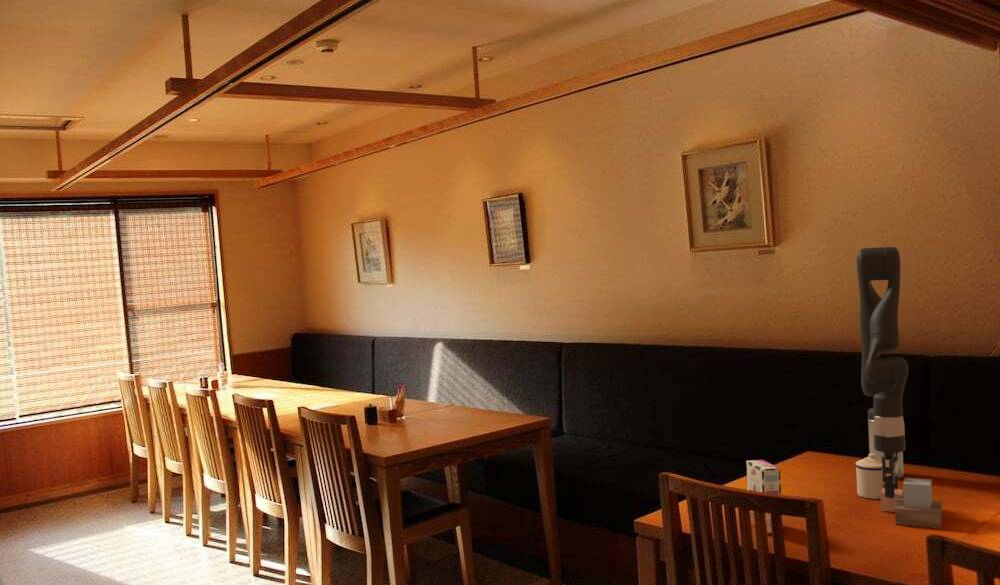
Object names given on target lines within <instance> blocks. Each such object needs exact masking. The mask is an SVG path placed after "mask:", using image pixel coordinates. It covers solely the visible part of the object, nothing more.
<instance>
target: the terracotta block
mask: <svg viewBox="0 0 1000 585" xmlns="http://www.w3.org/2000/svg"><path fill="white" fill-rule="evenodd" d="M894 492H895V496H894V498H887V497H885V488H882V490H881V493H880V496H881V499H880V511H881V512H882V511H890V512H889V513H894V512H895V507H896V504H897V502H898V499H899V498H903V499H904V493H903V489H900V488H898V489H894Z"/></svg>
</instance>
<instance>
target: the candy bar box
mask: <svg viewBox="0 0 1000 585" xmlns="http://www.w3.org/2000/svg"><path fill="white" fill-rule="evenodd" d="M745 462H746V464H745V465H746V486H747V487H746V488H747V491H748V490H752V491H757V492H762V493H768V494H774V495H781V496H782V486H781V484H782V483H781V468H779V467H777V466H776V465H774V464H773V463H770V462H769V461H766V460H764V459H752V460H746V461H745ZM751 519H752V521H753V513H752V512H751ZM766 522H767V529H768V534H767V535H772V534H771V516H770V514H766ZM769 531H770V534H769Z"/></svg>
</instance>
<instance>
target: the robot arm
mask: <svg viewBox="0 0 1000 585" xmlns="http://www.w3.org/2000/svg"><path fill="white" fill-rule="evenodd" d="M856 271H857V272H856V274H857V280H858V283H857V284H858V290H859V291H858V292H859V326H860V327H859V328H860V329H859V330H860V332H859V333H860V342H861V372H860V384H861V389H862V393H863V394H864V396H866V397H872V398H873V401H872V404H873V407H871V408H869V409H868V410H867V422H868V423H867V426H868V446H869V447H868V448H869V449H868V450H869V454H876V457H877V458H880V459H881V463H882V474H883V479H882V481H883V482H884V483H885V497H887V498H894V496H895V492H894V489H899V485H898V484H899V480H898V479H901V478H902V477H904V475H905V474H904V473H905V472H904V453H903V452H905V451H906V434H905V431H906V430H905V421H904V409H903V407H904V406H903V399H904V398H903V397H904V396H903V395H904V391H905V385H906V383H907V380H908V375H909V365H908V361H906V359H904V358H903V357H900V356H881V355H883V354H885V353H890V352H893V351H896V350H897V349H899V345H900V334H899V305H900V304H899V303H900V290H901V289H900V288H901V255H900V252H899V250H898V248H896V247H895V246H884V247H883V246H880V247H864V248H861V249H859V250H858V252H857V255H856ZM874 281H888V282H887V287H886V290H885V292H884V295H883V296H882V297H881V296H880V294H878V292H877V291H876V290H875V287H874V286H873V284H872V282H874ZM887 475H888V478H886V476H887Z"/></svg>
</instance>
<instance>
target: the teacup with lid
mask: <svg viewBox="0 0 1000 585" xmlns="http://www.w3.org/2000/svg"><path fill="white" fill-rule="evenodd" d="M867 455H868V456H866V457H864V458H863V459H859V460H857V461H856V462H855V463H854V464H855V468H856V471H855V472H856V490H857V491H856V492H857V495H858V496H859V497H861V498H863V497H864V499H868V498H870V500H871V499H872V500H881V496H880V493H881V490H882V488H885V483H884V482H883V481H882V479H883V474H882V463H881V459H880V458H877V457H876V454H870V453H868V454H867ZM886 478H888V475H887V476H886Z"/></svg>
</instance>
